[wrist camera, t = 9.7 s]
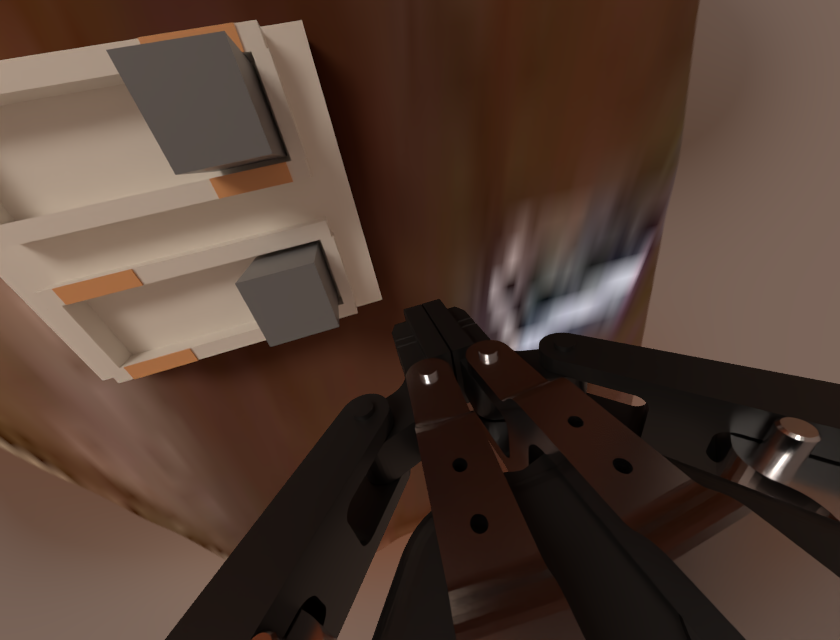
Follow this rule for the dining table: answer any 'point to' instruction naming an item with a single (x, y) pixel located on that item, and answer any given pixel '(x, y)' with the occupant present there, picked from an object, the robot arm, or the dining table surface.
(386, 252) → the dining table surface
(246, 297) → the tab
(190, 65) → the tab
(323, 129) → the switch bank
